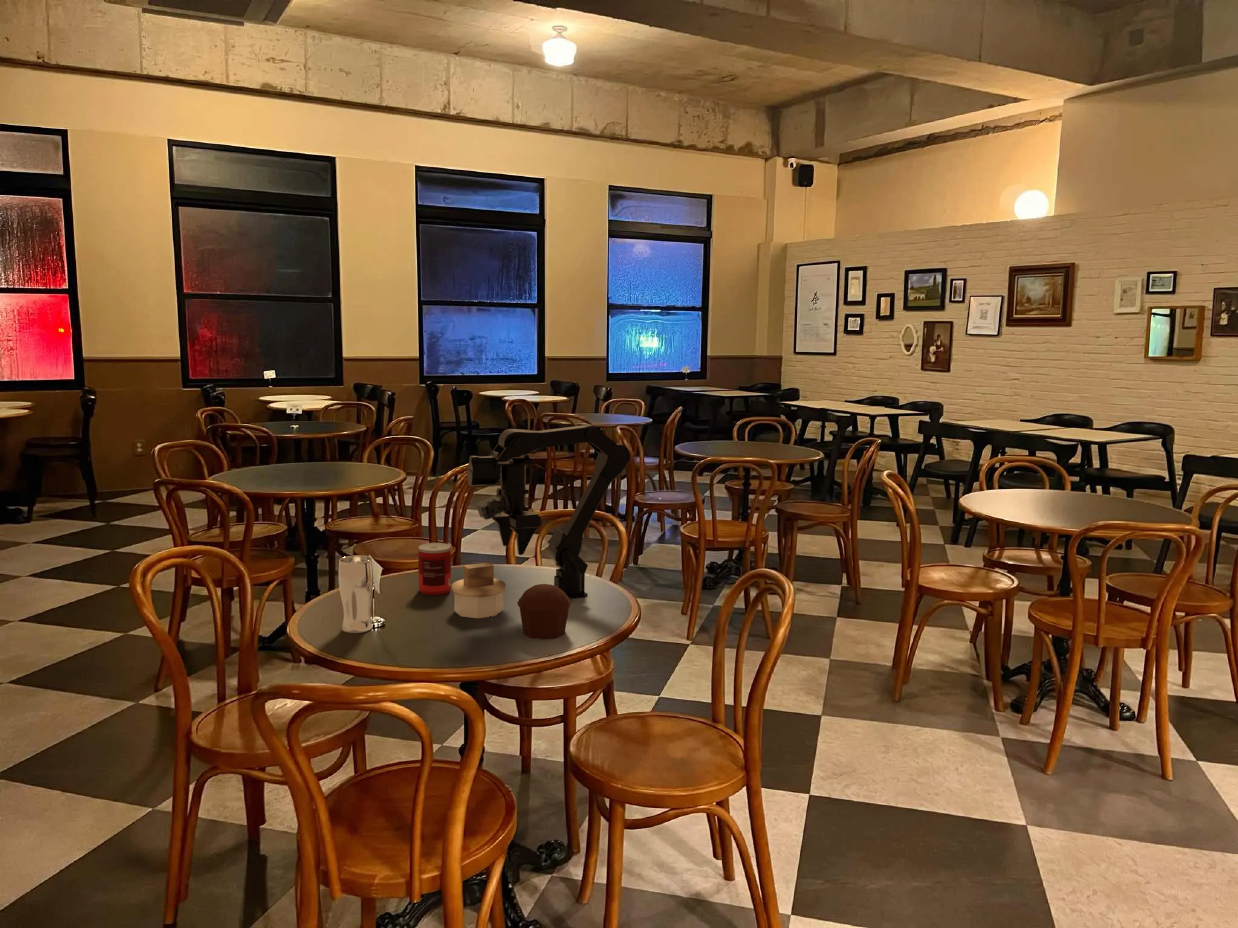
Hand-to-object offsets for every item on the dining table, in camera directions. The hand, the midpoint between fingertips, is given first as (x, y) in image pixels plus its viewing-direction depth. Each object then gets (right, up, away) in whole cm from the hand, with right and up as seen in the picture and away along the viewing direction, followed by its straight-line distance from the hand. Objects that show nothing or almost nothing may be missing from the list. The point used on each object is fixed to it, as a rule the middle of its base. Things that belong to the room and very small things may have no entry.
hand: (513, 550), depth 205 cm
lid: (-7, -8, -7) cm, 13 cm away
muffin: (+9, -16, -20) cm, 27 cm away
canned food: (-20, -11, +8) cm, 24 cm away
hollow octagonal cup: (-7, -13, -6) cm, 16 cm away
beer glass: (-30, -15, -20) cm, 39 cm away
